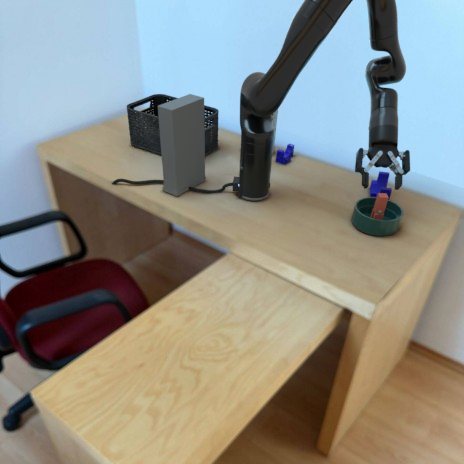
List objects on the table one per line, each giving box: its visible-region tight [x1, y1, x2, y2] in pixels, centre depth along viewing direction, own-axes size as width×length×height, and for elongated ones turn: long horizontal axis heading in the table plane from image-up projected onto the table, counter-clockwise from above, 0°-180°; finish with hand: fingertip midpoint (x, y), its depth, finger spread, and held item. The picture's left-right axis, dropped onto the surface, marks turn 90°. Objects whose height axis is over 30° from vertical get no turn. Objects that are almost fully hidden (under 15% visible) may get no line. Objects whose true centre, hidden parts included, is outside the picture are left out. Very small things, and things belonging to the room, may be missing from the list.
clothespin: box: [370, 193, 390, 220], centre depth 121 cm, size 2×3×8 cm
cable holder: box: [275, 143, 295, 165], centre depth 152 cm, size 8×4×4 cm, turn 142°
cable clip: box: [369, 171, 393, 200], centre depth 133 cm, size 12×4×6 cm, turn 169°
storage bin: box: [126, 93, 220, 157], centre depth 155 cm, size 29×19×13 cm
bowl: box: [351, 196, 404, 237], centre depth 122 cm, size 13×13×5 cm
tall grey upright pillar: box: [158, 93, 207, 197], centre depth 129 cm, size 14×6×25 cm, turn 144°
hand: (381, 188), depth 118 cm, fingers open, 8 cm apart
